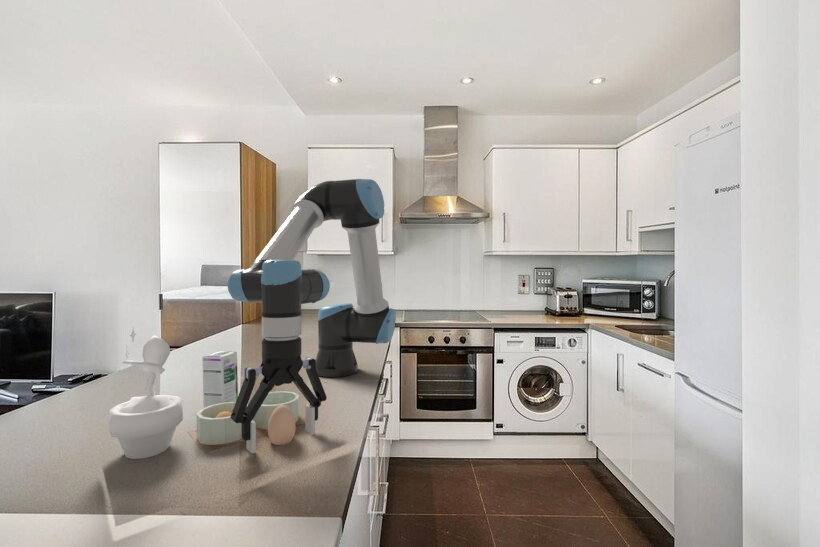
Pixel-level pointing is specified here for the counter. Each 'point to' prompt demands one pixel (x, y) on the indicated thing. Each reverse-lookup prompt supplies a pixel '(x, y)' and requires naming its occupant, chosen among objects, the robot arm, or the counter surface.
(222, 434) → the cup
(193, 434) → the rack board
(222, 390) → the syrup box
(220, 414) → the rubber ball
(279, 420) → the egg
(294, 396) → the cup
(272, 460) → the counter surface
